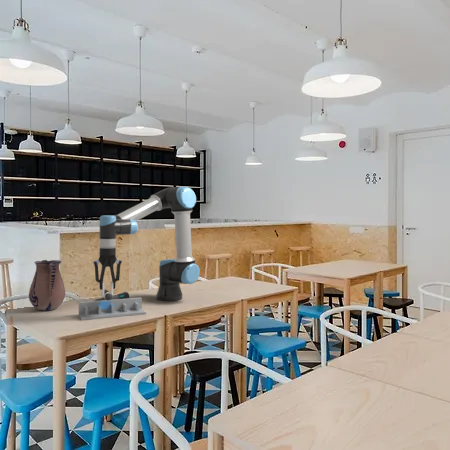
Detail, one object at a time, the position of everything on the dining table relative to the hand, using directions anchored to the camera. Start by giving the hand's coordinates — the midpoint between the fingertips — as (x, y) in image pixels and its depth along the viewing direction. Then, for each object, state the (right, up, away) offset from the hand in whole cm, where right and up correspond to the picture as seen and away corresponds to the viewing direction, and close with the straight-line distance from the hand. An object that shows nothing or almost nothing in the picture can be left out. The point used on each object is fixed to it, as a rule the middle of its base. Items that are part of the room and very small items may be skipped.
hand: (107, 295), depth 215 cm
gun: (-4, -10, +24) cm, 26 cm away
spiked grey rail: (+1, -10, +5) cm, 12 cm away
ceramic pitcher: (-34, -10, +15) cm, 39 cm away
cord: (-1, -2, +1) cm, 2 cm away
